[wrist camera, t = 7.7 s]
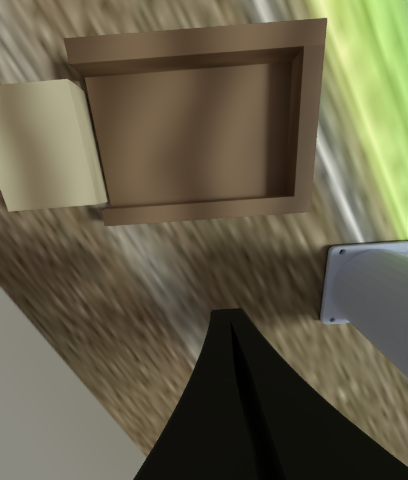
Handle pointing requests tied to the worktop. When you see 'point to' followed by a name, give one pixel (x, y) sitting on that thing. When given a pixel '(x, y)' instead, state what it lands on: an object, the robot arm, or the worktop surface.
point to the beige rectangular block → (48, 147)
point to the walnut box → (205, 119)
